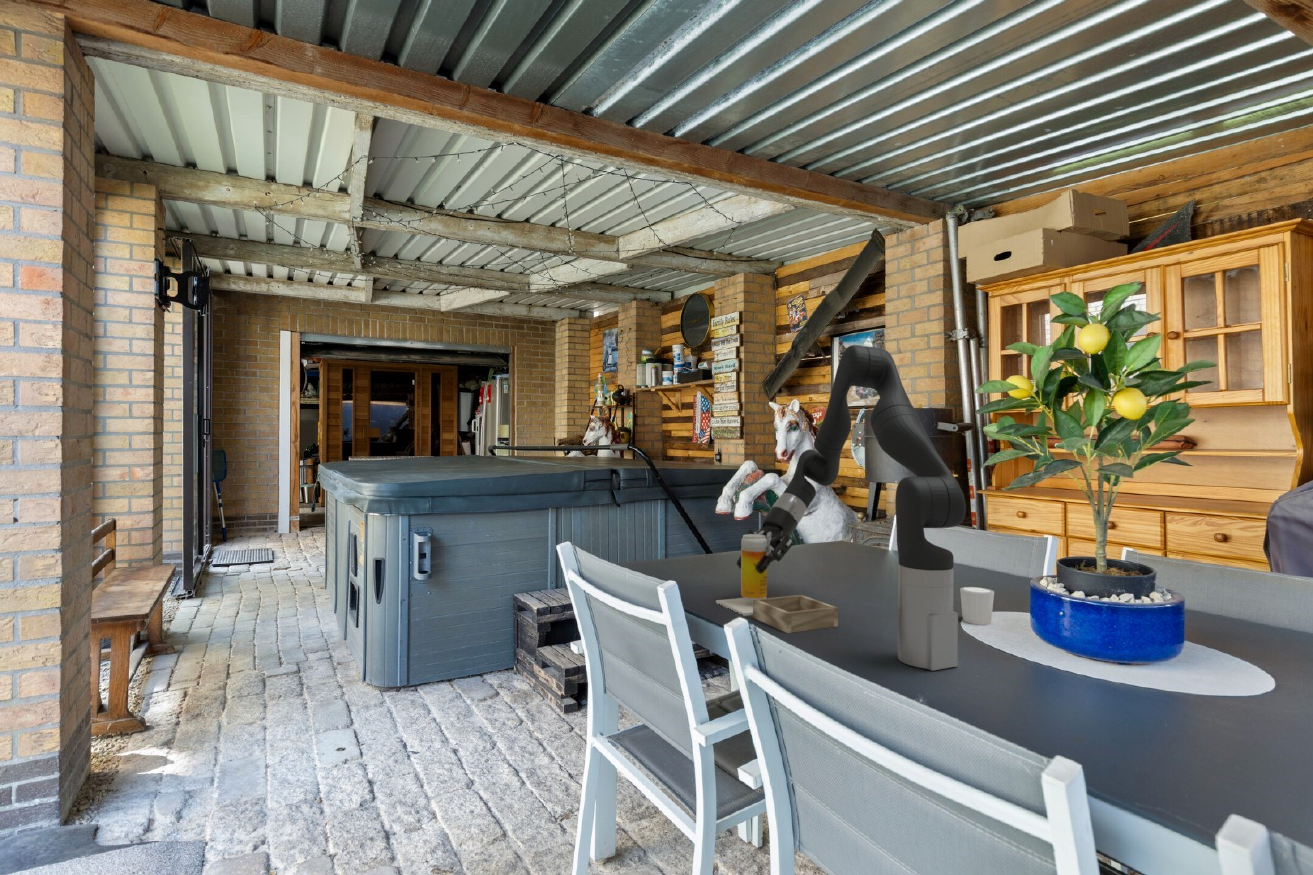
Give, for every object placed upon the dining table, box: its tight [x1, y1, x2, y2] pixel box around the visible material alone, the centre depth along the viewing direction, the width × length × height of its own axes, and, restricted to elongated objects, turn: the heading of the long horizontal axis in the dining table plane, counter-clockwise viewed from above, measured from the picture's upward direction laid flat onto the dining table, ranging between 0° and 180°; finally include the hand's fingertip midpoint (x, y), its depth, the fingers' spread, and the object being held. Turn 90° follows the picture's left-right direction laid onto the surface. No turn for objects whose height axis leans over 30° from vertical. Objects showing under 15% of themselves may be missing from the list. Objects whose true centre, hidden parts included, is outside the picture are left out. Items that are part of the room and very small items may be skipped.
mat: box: [715, 597, 753, 617], centre depth 161 cm, size 13×13×1 cm
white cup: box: [959, 586, 995, 626], centre depth 150 cm, size 7×7×7 cm
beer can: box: [740, 533, 768, 601], centre depth 161 cm, size 6×6×15 cm
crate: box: [752, 594, 839, 634], centre depth 147 cm, size 13×13×4 cm
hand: (748, 568), depth 160 cm, fingers closed on beer can, 6 cm apart
